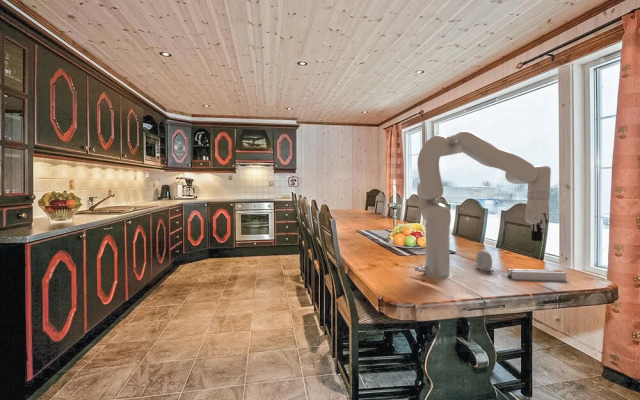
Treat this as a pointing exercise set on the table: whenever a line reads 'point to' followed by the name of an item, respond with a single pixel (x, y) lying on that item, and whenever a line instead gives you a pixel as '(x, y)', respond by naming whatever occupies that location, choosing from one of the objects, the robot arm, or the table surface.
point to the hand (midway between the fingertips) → (536, 240)
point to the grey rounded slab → (484, 260)
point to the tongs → (537, 276)
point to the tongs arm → (509, 271)
